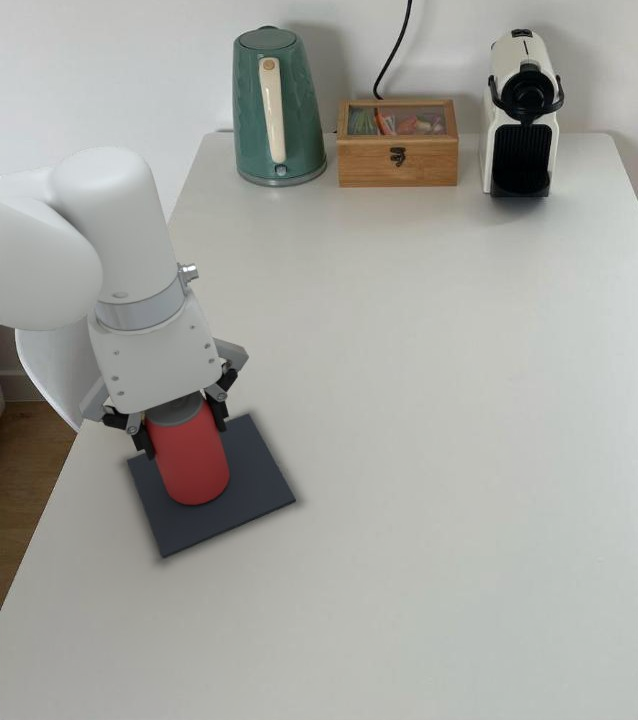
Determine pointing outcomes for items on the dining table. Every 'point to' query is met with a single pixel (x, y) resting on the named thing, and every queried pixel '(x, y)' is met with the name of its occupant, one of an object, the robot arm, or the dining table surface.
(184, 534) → the mat
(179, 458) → the beer can
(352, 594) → the dining table surface
